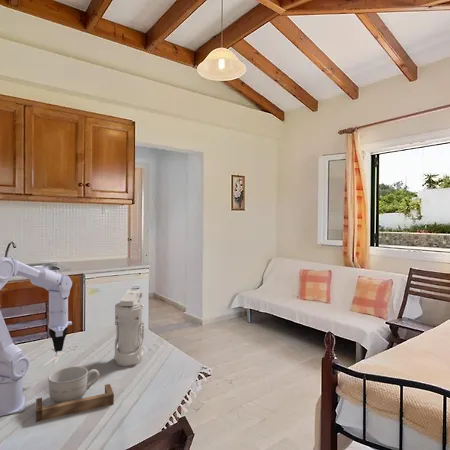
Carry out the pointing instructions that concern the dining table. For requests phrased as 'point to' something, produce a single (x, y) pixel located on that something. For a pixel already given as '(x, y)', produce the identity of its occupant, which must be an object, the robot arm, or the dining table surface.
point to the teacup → (70, 383)
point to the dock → (74, 405)
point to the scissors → (60, 354)
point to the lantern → (129, 329)
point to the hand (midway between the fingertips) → (58, 350)
